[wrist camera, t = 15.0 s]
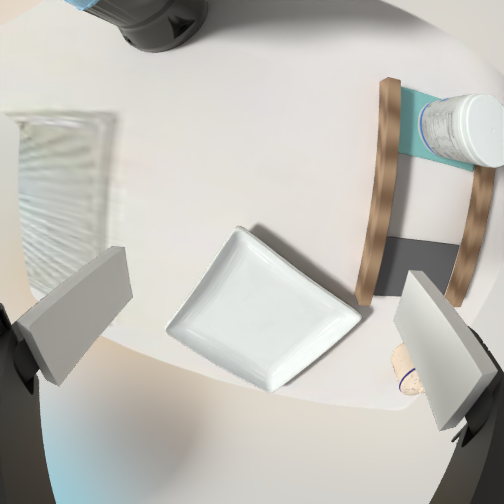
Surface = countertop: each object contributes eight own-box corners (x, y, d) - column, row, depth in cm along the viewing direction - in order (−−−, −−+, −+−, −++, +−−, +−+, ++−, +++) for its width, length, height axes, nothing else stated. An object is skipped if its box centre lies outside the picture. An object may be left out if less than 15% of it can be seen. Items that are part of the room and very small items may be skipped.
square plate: (360, 306, 48) (365, 318, 44) (271, 383, 58) (270, 396, 54) (240, 218, 44) (236, 225, 41) (167, 321, 54) (160, 333, 51)
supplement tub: (452, 100, 31) (506, 92, 17) (464, 153, 34) (520, 164, 20) (407, 104, 33) (457, 92, 19) (422, 161, 36) (474, 173, 22)
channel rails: (379, 82, 33) (388, 77, 29) (484, 117, 30) (497, 117, 27) (354, 293, 46) (359, 305, 43) (451, 296, 44) (460, 307, 41)
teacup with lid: (382, 365, 52) (394, 404, 42) (402, 334, 49) (420, 373, 38) (420, 369, 52) (435, 405, 41) (441, 341, 49) (460, 376, 38)
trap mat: (381, 236, 42) (382, 236, 42) (458, 245, 40) (459, 245, 40) (368, 293, 46) (368, 295, 46) (442, 296, 45) (442, 297, 44)
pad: (395, 85, 32) (396, 85, 32) (474, 112, 31) (476, 112, 30) (392, 151, 37) (393, 151, 36) (471, 171, 35) (472, 171, 35)
